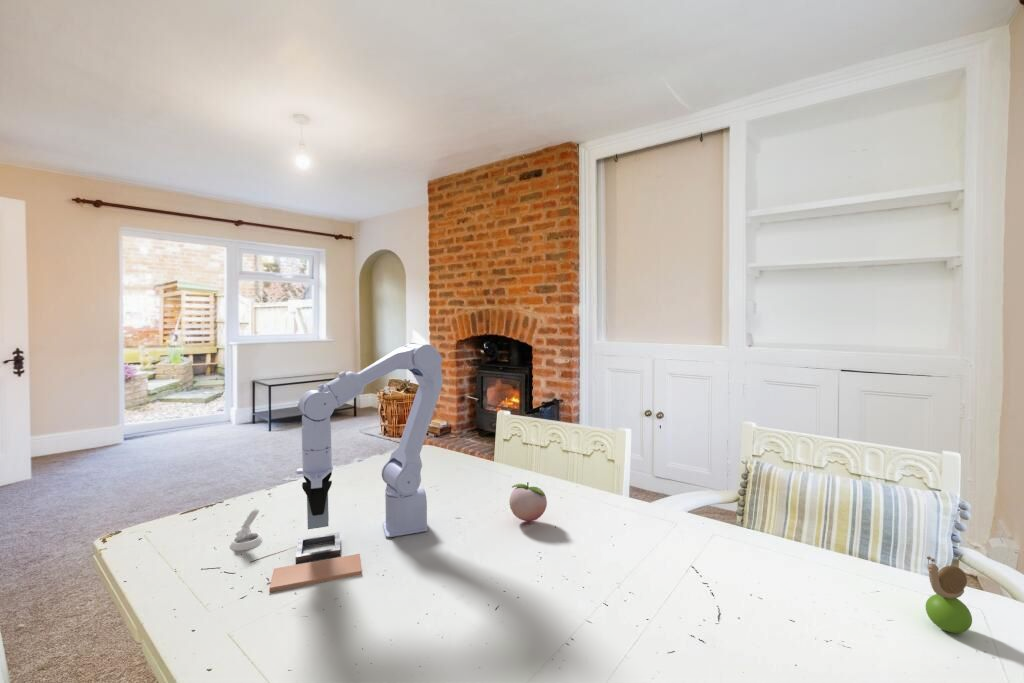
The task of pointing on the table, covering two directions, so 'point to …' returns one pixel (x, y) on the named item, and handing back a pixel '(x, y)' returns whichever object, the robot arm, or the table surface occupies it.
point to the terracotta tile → (315, 572)
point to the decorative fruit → (527, 502)
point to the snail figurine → (948, 598)
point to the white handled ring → (246, 534)
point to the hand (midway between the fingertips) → (318, 510)
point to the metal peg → (317, 517)
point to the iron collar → (318, 554)
